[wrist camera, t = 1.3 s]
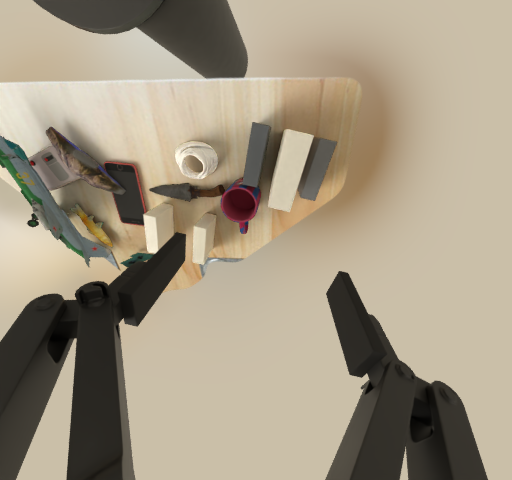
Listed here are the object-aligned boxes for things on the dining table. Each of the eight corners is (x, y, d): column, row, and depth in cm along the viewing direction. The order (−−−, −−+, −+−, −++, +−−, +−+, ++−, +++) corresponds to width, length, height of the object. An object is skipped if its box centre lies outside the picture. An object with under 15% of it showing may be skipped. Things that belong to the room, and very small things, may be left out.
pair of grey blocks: (248, 175, 37) (242, 184, 31) (257, 123, 33) (252, 121, 27) (309, 190, 38) (315, 201, 32) (326, 140, 33) (337, 141, 27)
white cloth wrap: (217, 139, 36) (211, 137, 31) (222, 177, 38) (217, 179, 34) (176, 142, 36) (164, 141, 32) (184, 179, 39) (173, 182, 34)
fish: (115, 244, 46) (103, 252, 48) (121, 241, 48) (110, 248, 50) (74, 201, 43) (63, 211, 44) (83, 199, 44) (72, 209, 46)
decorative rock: (125, 190, 40) (110, 205, 41) (130, 188, 42) (116, 202, 43) (46, 123, 34) (30, 143, 35) (56, 125, 36) (42, 143, 37)
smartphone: (134, 164, 38) (148, 226, 45) (136, 164, 38) (150, 225, 45) (101, 161, 38) (120, 223, 45) (104, 160, 39) (122, 222, 46)
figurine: (112, 259, 51) (126, 282, 54) (100, 271, 43) (116, 297, 45) (158, 242, 55) (169, 265, 57) (154, 251, 46) (167, 276, 49)
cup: (261, 179, 37) (258, 188, 32) (259, 224, 42) (255, 239, 37) (228, 176, 38) (219, 185, 32) (229, 222, 43) (222, 236, 37)
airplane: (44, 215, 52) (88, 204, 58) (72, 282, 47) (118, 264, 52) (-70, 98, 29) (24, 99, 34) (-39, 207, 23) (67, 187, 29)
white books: (164, 236, 47) (147, 252, 41) (162, 202, 42) (143, 214, 36) (213, 247, 47) (203, 264, 41) (216, 215, 42) (206, 229, 36)
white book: (271, 181, 37) (267, 207, 25) (283, 130, 33) (286, 128, 20) (286, 184, 38) (289, 212, 25) (300, 133, 33) (314, 135, 20)
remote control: (93, 172, 40) (81, 175, 38) (45, 194, 44) (31, 198, 42) (70, 139, 37) (54, 139, 35) (20, 165, 41) (3, 167, 39)
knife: (223, 185, 37) (219, 210, 38) (227, 186, 39) (222, 210, 40) (146, 167, 38) (144, 191, 40) (154, 169, 41) (151, 192, 42)
